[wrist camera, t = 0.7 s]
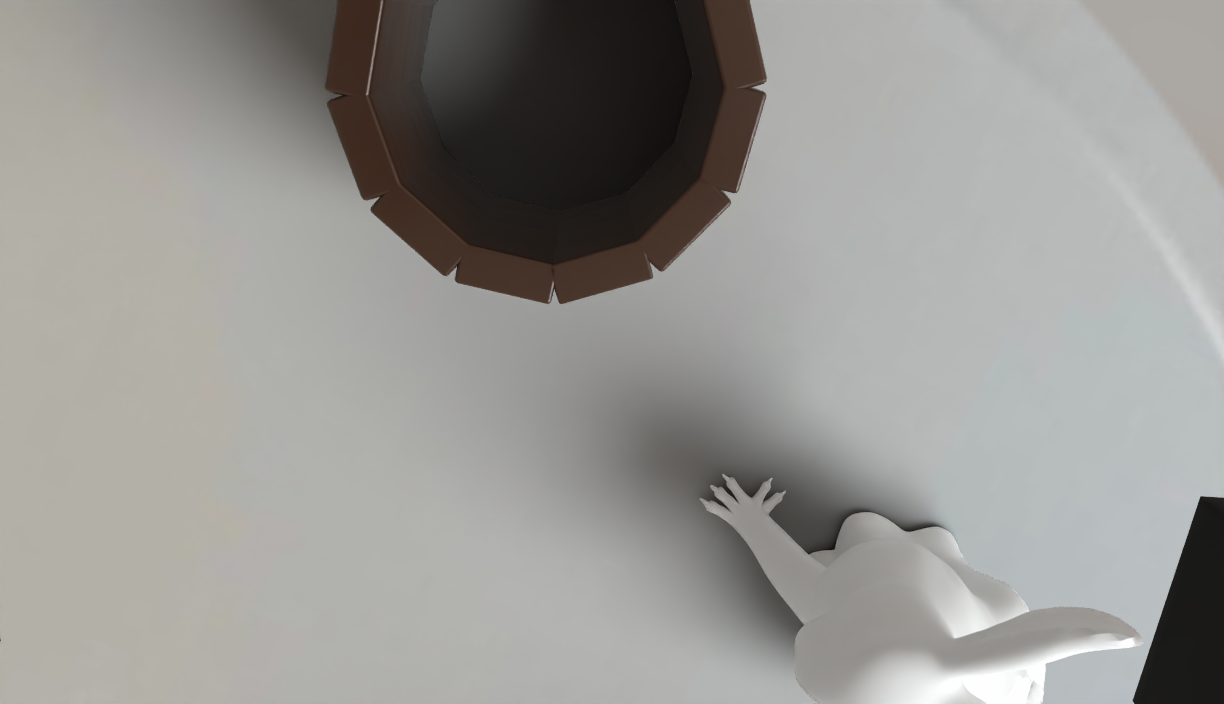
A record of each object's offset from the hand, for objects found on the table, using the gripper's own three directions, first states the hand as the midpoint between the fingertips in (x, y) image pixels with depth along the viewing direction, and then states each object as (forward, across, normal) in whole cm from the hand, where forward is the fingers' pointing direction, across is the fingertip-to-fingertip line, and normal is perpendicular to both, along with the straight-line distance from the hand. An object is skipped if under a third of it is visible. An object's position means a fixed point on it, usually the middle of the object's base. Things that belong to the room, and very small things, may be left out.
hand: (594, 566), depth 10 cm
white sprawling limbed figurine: (+17, +10, -10) cm, 22 cm away
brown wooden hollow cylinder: (+16, -1, +4) cm, 17 cm away
